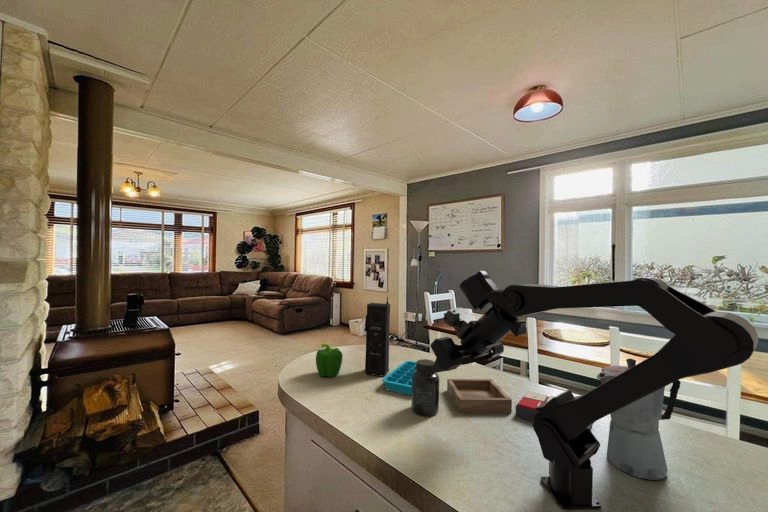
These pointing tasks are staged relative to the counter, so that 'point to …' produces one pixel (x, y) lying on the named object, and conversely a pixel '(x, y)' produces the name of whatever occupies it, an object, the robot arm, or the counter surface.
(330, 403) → the counter surface
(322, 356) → the bell pepper
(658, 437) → the moka pot
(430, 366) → the supplement bottle
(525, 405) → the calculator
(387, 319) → the portable radio
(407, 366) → the ice cube tray
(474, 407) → the holder
